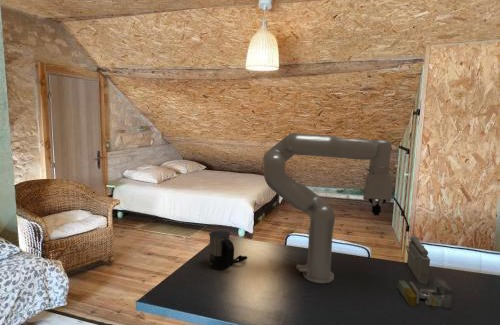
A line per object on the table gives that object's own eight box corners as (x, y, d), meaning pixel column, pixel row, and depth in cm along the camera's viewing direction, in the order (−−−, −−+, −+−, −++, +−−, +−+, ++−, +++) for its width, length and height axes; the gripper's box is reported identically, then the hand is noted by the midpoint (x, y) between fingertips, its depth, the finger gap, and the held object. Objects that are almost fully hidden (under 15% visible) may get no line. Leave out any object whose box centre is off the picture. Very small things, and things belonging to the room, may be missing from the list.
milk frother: (204, 266, 146) (204, 234, 144) (226, 254, 159) (226, 224, 157) (230, 275, 138) (230, 241, 136) (251, 262, 151) (251, 231, 149)
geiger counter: (434, 252, 132) (416, 231, 156) (417, 250, 133) (401, 230, 157) (430, 285, 134) (413, 259, 158) (413, 283, 135) (399, 258, 159)
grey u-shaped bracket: (427, 306, 118) (429, 288, 117) (419, 293, 127) (420, 276, 126) (450, 308, 117) (452, 290, 116) (439, 295, 126) (441, 277, 125)
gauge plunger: (417, 306, 117) (418, 295, 117) (408, 292, 127) (409, 281, 126) (450, 310, 116) (452, 298, 115) (439, 295, 125) (440, 284, 125)
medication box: (397, 289, 130) (398, 279, 130) (404, 289, 130) (405, 279, 130) (409, 306, 119) (409, 295, 118) (416, 306, 118) (417, 296, 118)
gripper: (361, 171, 131) (358, 216, 133) (401, 172, 128) (397, 218, 131) (358, 168, 138) (355, 211, 141) (396, 169, 136) (392, 213, 138)
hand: (375, 214), depth 136 cm, fingers closed
